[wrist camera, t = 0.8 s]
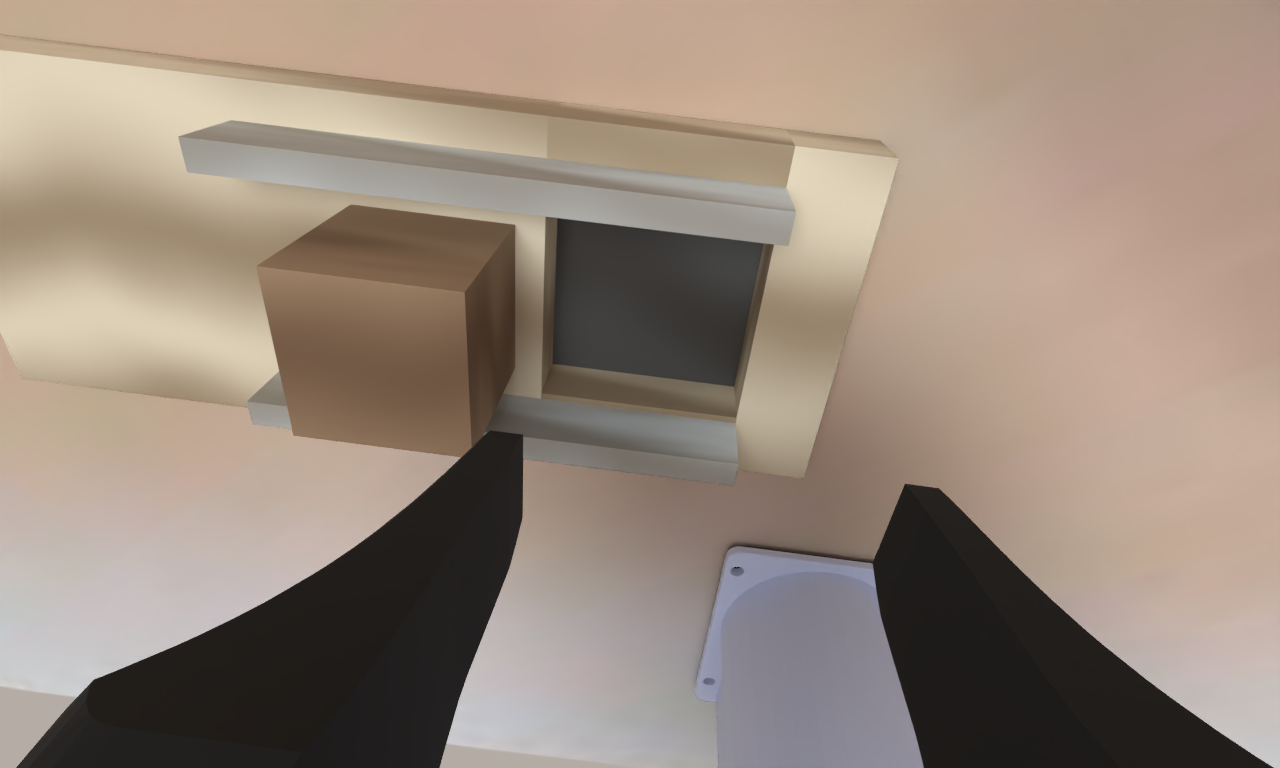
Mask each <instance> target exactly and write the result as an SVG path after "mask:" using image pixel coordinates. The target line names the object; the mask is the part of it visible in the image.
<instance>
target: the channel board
mask: <svg viewBox="0 0 1280 768" xmlns="http://www.w3.org/2000/svg"><path fill="white" fill-rule="evenodd" d="M898 161H899V158H898V157H897V156H896V155H895V154H894V153H893V152H892V151H890V150H889V149H888V148H887V147H886V146H885V145H884V144H883V143H882V142H881V141H877V140H868V139H860V138H852V137H843V136H835V135H827V134H818V133H810V132H802V131H794V130H785V129H777V128H769V127H760V126H752V125H744V124H735V123H727V122H719V121H711V120H702V119H694V118H686V117H677V116H669V115H661V114H652V113H644V112H636V111H627V110H619V109H611V108H603V107H594V106H586V105H578V104H569V103H561V102H553V101H544V100H536V99H528V98H520V97H511V96H503V95H495V94H486V93H478V92H470V91H461V90H453V89H445V88H437V87H428V86H420V85H412V84H403V83H395V82H387V81H378V80H370V79H362V78H354V77H345V76H337V75H329V74H320V73H312V72H304V71H295V70H287V69H279V68H270V67H262V66H254V65H246V64H237V63H229V62H221V61H212V60H204V59H196V58H187V57H179V56H171V55H163V54H154V53H146V52H138V51H129V50H121V49H113V48H104V47H96V46H88V45H80V44H71V43H63V42H55V41H46V40H38V39H30V38H21V37H13V36H5V35H0V333H1V335H2V337H3V339H4V341H5V343H6V346H7V348H8V350H9V352H10V354H11V356H12V358H13V361H14V363H15V365H16V367H17V369H18V371H19V373H20V376H21V378H22V379H27V380H34V381H42V382H50V383H58V384H66V385H73V386H81V387H89V388H97V389H105V390H113V391H120V392H128V393H136V394H144V395H152V396H159V397H167V398H175V399H183V400H191V401H198V402H206V403H214V404H222V405H230V406H238V407H245V408H249V412H250V416H251V420H252V424H254V425H262V426H270V427H278V428H285V429H292V426H291V422H290V417H289V413H288V408H287V404H286V399H285V395H284V390H283V386H282V381H281V377H280V372H279V368H278V363H277V359H276V354H275V350H274V345H273V341H272V336H271V332H270V327H269V323H268V318H267V314H266V309H265V305H264V300H263V296H262V291H261V287H260V282H259V278H258V273H257V269H256V266H257V265H259V264H260V263H262V262H263V261H265V260H266V259H268V258H269V257H271V256H272V255H274V254H275V253H277V252H278V251H280V250H282V249H283V248H285V247H286V246H288V245H289V244H291V243H292V242H294V241H295V240H297V239H298V238H300V237H302V236H303V235H305V234H306V233H308V232H309V231H311V230H312V229H314V228H315V227H317V226H318V225H320V224H321V223H323V222H325V221H326V220H328V219H329V218H331V217H332V216H334V215H335V214H337V213H338V212H340V211H341V210H343V209H345V208H346V207H348V206H349V205H351V204H352V205H360V206H368V207H376V208H384V209H392V210H400V211H408V212H417V213H425V214H433V215H441V216H449V217H457V218H465V219H473V220H481V221H490V222H498V223H506V224H514V225H515V369H514V371H513V373H512V375H511V378H510V380H509V382H508V384H507V386H506V388H505V390H504V392H503V394H502V397H501V399H500V401H499V403H498V405H497V407H496V409H495V411H494V413H493V415H492V418H491V420H490V422H489V424H488V426H487V428H486V430H485V432H484V434H483V436H484V435H485V434H486V433H488V432H489V431H490V430H492V431H499V432H507V433H515V434H522V435H523V459H527V460H535V461H543V462H550V463H558V464H566V465H574V466H582V467H589V468H597V469H605V470H613V471H621V472H628V473H636V474H644V475H652V476H660V477H667V478H675V479H683V480H691V481H698V482H706V483H714V484H722V485H730V486H734V482H735V478H736V474H737V470H738V471H746V472H753V473H761V474H769V475H777V476H785V477H792V478H800V479H804V475H805V472H806V469H807V465H808V462H809V459H810V455H811V452H812V449H813V445H814V442H815V439H816V435H817V432H818V428H819V425H820V422H821V418H822V415H823V412H824V408H825V405H826V402H827V398H828V395H829V392H830V388H831V385H832V382H833V378H834V375H835V372H836V368H837V365H838V362H839V358H840V355H841V352H842V348H843V345H844V342H845V338H846V335H847V332H848V328H849V325H850V322H851V318H852V315H853V311H854V308H855V305H856V301H857V298H858V295H859V291H860V288H861V285H862V281H863V278H864V275H865V271H866V268H867V265H868V261H869V258H870V255H871V251H872V248H873V245H874V241H875V238H876V235H877V231H878V228H879V225H880V221H881V218H882V215H883V211H884V208H885V205H886V201H887V198H888V194H889V191H890V188H891V184H892V181H893V178H894V174H895V171H896V168H897V164H898Z"/></svg>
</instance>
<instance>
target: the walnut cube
mask: <svg viewBox="0 0 1280 768" xmlns="http://www.w3.org/2000/svg"><path fill="white" fill-rule="evenodd" d="M256 269H257V273H258V278H259V282H260V287H261V291H262V296H263V300H264V305H265V309H266V314H267V318H268V323H269V327H270V332H271V336H272V341H273V345H274V350H275V354H276V359H277V363H278V368H279V372H280V377H281V381H282V386H283V390H284V395H285V399H286V404H287V408H288V413H289V417H290V422H291V426H292V431H293V435H294V436H301V437H309V438H317V439H325V440H332V441H340V442H348V443H356V444H364V445H371V446H379V447H387V448H395V449H402V450H410V451H418V452H426V453H434V454H441V455H449V456H457V457H462V456H463V455H464V454H465V453H466V452H468V451H469V450H470V449H471V448H472V447H473V446H474V445H475V444H476V443H477V442H478V441H479V440H480V439H481V438H482V437H483V434H484V432H485V430H486V428H487V426H488V424H489V422H490V420H491V418H492V415H493V413H494V411H495V409H496V407H497V405H498V403H499V401H500V399H501V397H502V394H503V392H504V390H505V388H506V386H507V384H508V382H509V380H510V378H511V375H512V373H513V371H514V369H515V225H514V224H506V223H498V222H490V221H481V220H473V219H465V218H457V217H449V216H441V215H433V214H425V213H417V212H408V211H400V210H392V209H384V208H376V207H368V206H360V205H352V204H351V205H349V206H348V207H346V208H345V209H343V210H341V211H340V212H338V213H337V214H335V215H334V216H332V217H331V218H329V219H328V220H326V221H325V222H323V223H321V224H320V225H318V226H317V227H315V228H314V229H312V230H311V231H309V232H308V233H306V234H305V235H303V236H302V237H300V238H298V239H297V240H295V241H294V242H292V243H291V244H289V245H288V246H286V247H285V248H283V249H282V250H280V251H278V252H277V253H275V254H274V255H272V256H271V257H269V258H268V259H266V260H265V261H263V262H262V263H260V264H259V265H257V266H256Z"/></svg>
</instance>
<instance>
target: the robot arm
mask: <svg viewBox="0 0 1280 768" xmlns="http://www.w3.org/2000/svg"><path fill="white" fill-rule="evenodd" d="M522 511H523V435H522V434H515V433H507V432H499V431H492V430H490V431H489V432H488V433H486V434H485V435H484V436H483V437H482V438H481V439H480V440H479V441H478V442H477V443H476V444H475V445H474V446H473V447H472V448H471V449H470V450H469V451H468V452H466V453H465V454H464V455H463V456H462V457H461V458H460V459H459V460H458V461H457V462H456V463H455V464H454V465H453V466H452V467H451V468H450V469H449V470H448V471H447V472H446V473H445V474H443V475H442V476H441V477H440V478H439V479H438V480H437V481H436V482H435V483H433V484H432V485H431V486H430V487H429V488H428V489H427V490H426V491H424V492H423V493H422V494H421V495H420V496H419V497H418V498H417V499H415V500H414V501H413V502H412V503H411V504H409V505H408V506H407V507H406V508H405V509H403V510H402V511H401V512H400V513H398V514H397V515H396V516H395V517H393V518H392V519H391V520H390V521H388V522H387V523H386V524H385V525H383V526H382V527H381V528H380V529H378V530H377V531H376V532H374V533H373V534H372V535H370V536H369V537H368V538H366V539H365V540H363V541H362V542H361V543H359V544H358V545H357V546H355V547H354V548H352V549H351V550H350V551H348V552H347V553H345V554H344V555H342V556H341V557H339V558H338V559H336V560H335V561H333V562H332V563H330V564H329V565H327V566H326V567H324V568H323V569H321V570H319V571H318V572H316V573H314V574H313V575H311V576H309V577H308V578H306V579H304V580H303V581H301V582H299V583H298V584H296V585H294V586H292V587H291V588H289V589H287V590H285V591H284V592H282V593H280V594H279V595H277V596H275V597H273V598H272V599H270V600H268V601H266V602H265V603H263V604H261V605H259V606H257V607H255V608H253V609H251V610H249V611H247V612H245V613H244V614H242V615H240V616H238V617H236V618H234V619H232V620H230V621H228V622H226V623H224V624H222V625H219V626H217V627H215V628H213V629H211V630H209V631H207V632H205V633H203V634H201V635H199V636H197V637H194V638H192V639H190V640H188V641H186V642H183V643H181V644H179V645H177V646H174V647H172V648H170V649H167V650H165V651H163V652H160V653H158V654H155V655H153V656H151V657H148V658H146V659H144V660H141V661H139V662H136V663H134V664H132V665H129V666H127V667H125V668H122V669H120V670H117V671H115V672H113V673H110V674H107V675H105V676H102V677H100V678H97V679H95V680H93V681H92V682H91V683H90V684H89V685H88V687H87V688H86V689H85V690H84V691H83V692H82V693H81V694H80V695H79V696H78V697H77V698H76V699H75V700H74V701H73V702H72V703H71V704H70V706H69V707H68V708H67V709H66V710H65V711H64V712H63V713H62V714H61V716H60V717H59V718H58V719H57V720H56V721H55V723H54V724H53V725H52V726H51V727H50V729H49V730H48V731H47V732H46V733H45V734H44V736H43V737H42V738H41V739H40V740H39V741H38V743H37V744H36V745H35V746H34V748H33V749H32V750H31V751H30V752H29V753H28V754H27V756H26V757H25V758H24V759H23V760H22V762H21V763H20V764H19V765H18V766H17V768H439V767H440V763H441V760H442V756H443V752H444V749H445V745H446V742H447V739H448V735H449V732H450V728H451V725H452V721H453V718H454V714H455V711H456V707H457V704H458V700H459V697H460V695H461V692H462V689H463V686H464V683H465V680H466V677H467V674H468V672H469V669H470V667H471V664H472V662H473V659H474V657H475V654H476V652H477V649H478V646H479V644H480V641H481V639H482V636H483V634H484V631H485V629H486V626H487V624H488V621H489V619H490V616H491V614H492V611H493V608H494V606H495V603H496V601H497V598H498V596H499V593H500V590H501V588H502V585H503V583H504V580H505V578H506V575H507V572H508V570H509V567H510V564H511V560H512V556H513V552H514V549H515V545H516V541H517V537H518V533H519V529H520V525H521V521H522ZM733 567H741V568H737V569H735V568H733ZM695 696H696V697H697V698H698V699H700V700H703V701H709V702H716V703H717V743H718V768H1273V767H1272V766H1270V765H1268V764H1267V763H1265V762H1264V761H1262V760H1260V759H1259V758H1257V757H1256V756H1254V755H1253V754H1251V753H1250V752H1248V751H1247V750H1245V749H1244V748H1242V747H1241V746H1239V745H1238V744H1236V743H1235V742H1233V741H1232V740H1230V739H1229V738H1227V737H1226V736H1224V735H1223V734H1221V733H1220V732H1218V731H1217V730H1215V729H1214V728H1212V727H1211V726H1210V725H1208V724H1207V723H1205V722H1204V721H1203V720H1201V719H1200V718H1198V717H1197V716H1196V715H1194V714H1193V713H1191V712H1190V711H1188V710H1187V709H1186V708H1184V707H1183V706H1181V705H1180V704H1179V703H1177V702H1176V701H1174V700H1173V699H1172V698H1170V697H1169V696H1167V695H1166V694H1165V693H1163V692H1162V691H1161V690H1159V689H1158V688H1157V687H1155V686H1154V685H1153V684H1151V683H1150V682H1149V681H1147V680H1146V679H1145V678H1144V677H1142V676H1141V675H1140V674H1139V673H1137V672H1136V671H1135V670H1134V669H1132V668H1131V667H1130V666H1129V665H1127V664H1126V663H1125V662H1123V661H1122V660H1121V659H1120V658H1118V657H1117V656H1116V655H1115V654H1113V653H1112V652H1111V651H1110V650H1108V649H1107V648H1106V647H1105V646H1103V645H1102V644H1101V643H1100V642H1099V641H1098V640H1096V639H1095V638H1094V637H1093V636H1092V635H1090V634H1089V633H1088V632H1087V631H1086V630H1085V629H1083V628H1082V627H1081V626H1080V625H1079V624H1078V623H1077V622H1076V621H1075V620H1073V619H1072V618H1071V617H1070V616H1069V615H1068V614H1067V613H1066V612H1065V611H1063V610H1062V609H1061V608H1060V607H1059V606H1058V605H1057V604H1056V603H1055V602H1053V601H1052V600H1051V599H1050V598H1049V597H1048V596H1047V595H1046V594H1045V593H1044V592H1043V591H1042V590H1041V589H1040V588H1039V587H1037V586H1036V585H1035V584H1034V583H1033V582H1032V581H1031V580H1030V579H1029V578H1028V577H1027V576H1026V575H1025V574H1024V573H1023V572H1022V571H1021V570H1020V569H1019V568H1018V567H1017V566H1016V565H1015V564H1014V563H1013V562H1012V561H1011V560H1010V559H1009V558H1008V557H1007V556H1006V555H1005V554H1004V553H1003V552H1002V551H1001V550H1000V549H999V548H998V547H997V546H996V545H995V544H994V543H993V542H992V541H991V540H990V539H989V538H988V537H987V536H986V535H985V534H984V533H983V532H982V531H981V530H980V529H979V528H978V527H977V526H976V525H975V524H974V523H973V522H972V521H971V520H970V519H969V518H968V516H967V515H966V514H965V513H964V512H963V511H962V510H961V509H960V508H959V507H958V506H957V505H956V504H955V503H954V502H953V501H952V500H951V499H950V498H949V497H947V496H946V495H945V494H944V493H943V492H942V491H941V490H940V489H939V488H932V487H924V486H916V485H909V484H905V485H904V488H903V490H902V493H901V495H900V498H899V500H898V503H897V505H896V507H895V510H894V512H893V515H892V517H891V520H890V522H889V525H888V527H887V529H886V532H885V534H884V537H883V539H882V542H881V544H880V547H879V549H878V551H877V554H876V556H875V559H874V561H873V563H865V562H857V561H850V560H842V559H834V558H827V557H819V556H811V555H803V554H796V553H788V552H780V551H773V550H765V549H757V548H749V547H742V546H736V547H733V548H731V549H729V550H728V551H727V553H726V557H725V561H724V565H723V569H722V573H721V578H720V582H719V586H718V590H717V595H716V599H715V603H714V607H713V611H712V616H711V620H710V624H709V628H708V632H707V637H706V641H705V645H704V649H703V654H702V658H701V662H700V666H699V670H698V675H697V679H696V683H695Z"/></svg>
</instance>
